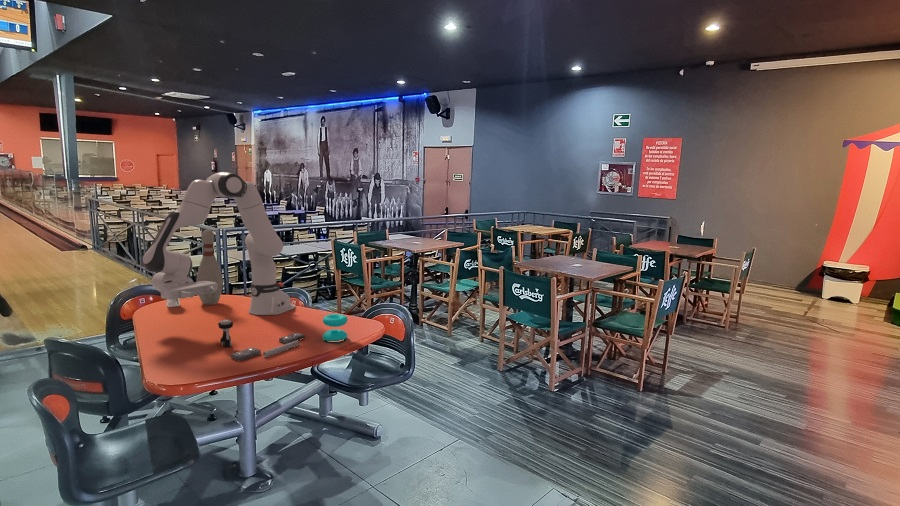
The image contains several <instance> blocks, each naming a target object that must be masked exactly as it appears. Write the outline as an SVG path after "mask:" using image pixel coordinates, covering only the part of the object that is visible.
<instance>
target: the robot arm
mask: <svg viewBox="0 0 900 506" xmlns="http://www.w3.org/2000/svg"><path fill="white" fill-rule="evenodd" d="M217 197H219V198H232V199H233V200H234V201H235V203H236V207H237V210H238V212H239V215H240V217H241V220H242V223H243V225H244V227H245V228H246V229H247V231H248V233H247V235H246V237H245V239H244V243H245V244H244V245H245V246H246V249H247V252H248V257H249V260H250V261H249V262H250V266H251V267H250V268H251V284H250V292H251V299H250V306H249V309H248V313H249V314H251V315H254V316H255V315H256V316H270V315H271V316H274V315H275V316H276V315H281V314H284V313H286V312H289V311H292V310H294V309H296V307H297V306H296V305H295V304H294V303H291V298H290V295H288V294H287V293H286V292H284V291H283V290H281V289H280V288H283V287H284V282H277V267H276V263H275V261H274V258H273V257H277V256H279V255H280V254H281V253H282V251H283V249H284V242H283V241H282V239H281V238H280V237H279V235H278V234H277V231H276V230H275V229H274V227H273V225H272V223H271V221H270V219H269V216H268V214H267V212H266V208H265V205H264V202H263V199H262V197H261V195H260V193H259V190H258V189H257V187H256V185H255V183H253V182H251V181H247V180H243V178H242V177H241V176H240V175H239V174H237V173H235V172H227V171H221V172H213V173H211V174H209V175H207V177H205V178H204V179H195V180H192V181H191V183H190V184H189V185H188V188H186V191H185V193H184V196H183V198H182V201H181V203H180V205H179V206H178V207H177V208H176V210H173V211H171V212H169V214H168V215H167V216H166V218H165V219H164V221H163V223H162V225H161V226H160V228H159V230H158V232H157V233H156V235H155V237H154V239H153V240H152V243H151V244H150V245H149V247H148V248H147V249H146V250H145V252H144V253H143V256H142V265H143V267H144V268H145V269H146V270H147V271H148V272H150V273H151V272H152V273H155V274H154V275H153V276H152V279H151V285H152V286H153V289H155V290H156V291H158V292H159V293H160V298H161V299H163V300H167V299H169V300H172V299H178V298H179V299H187V298H189V299H190V298H193V297H194V296H197V295H198V296H199V294H204V293H215V292H216V291H217V283H216V282H210V281H200V282H196V281H195V282H194V280H193V279H192V278H190V277H189V276H190V275H191V272H192V270H193V260H192V259H191V257H190V255H188V254H187V253H183V252H179V251H173V250H168V249H167V247H168V244H169V243H170V241H171V239H172V237H173V236H174V234H175V232H176V231H177V230H178V229H181V228H184V227H194V226H199V225H201V224H203V223H204V222H206V220H207V219H208V216H209V214H210V211H211V207H212V204H213V202H214V200H215V199H216V198H217Z"/></svg>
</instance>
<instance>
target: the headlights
mask: <svg viewBox="0 0 900 506" xmlns="http://www.w3.org/2000/svg"><path fill="white" fill-rule="evenodd" d="M302 338H305V339H306V334H303V333H300V332H294V333H290V334H287V335H285V336H282V337H279V338H278V339H279V340H278V341H279V343H282V345H279V346H276V347H274V348H272V349H271V348H270V349H268V350H265V351H263V353H262V350H261V349H259V348H255V347H253V346H252V347H251V346H250V347H248V348H245V349H242V350H239V351H237V352H233V353H231V354H230V359H231V358H233V359H232V360H234V359H236V360H235V361H237V360H239V361H238V362H242V361H241V360H243V361H245V360H244V359H246V360H248V359H250V357H251V358H253V357H252V356H254V357H257V356H259V354H260V355H261V354H263V358H264V357H267V358H269V357H272V356H275V355H277V353H278V354H280V353H283V352H285V350H286V351H288V350H287V349H289V350H291V349H293V348H292V347H294V346H297V345H299V346H300V341H301V340H300V339H302ZM297 340H300V341H297ZM284 343H285V344H284ZM297 347H298V346H297ZM290 348H291V349H290ZM294 348H295V347H294ZM282 351H283V352H282ZM274 354H275V355H274ZM256 355H257V356H256ZM271 355H272V356H271ZM268 356H269V357H268ZM247 358H248V359H247Z"/></svg>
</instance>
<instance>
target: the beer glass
mask: <svg viewBox="0 0 900 506" xmlns="http://www.w3.org/2000/svg"><path fill="white" fill-rule="evenodd" d="M165 306H166V307H167V306H168V307H167V308H176V307H180V306H181V302H180V298H178V299H172V300H169V299H166V305H165Z"/></svg>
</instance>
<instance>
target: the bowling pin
mask: <svg viewBox="0 0 900 506" xmlns="http://www.w3.org/2000/svg"><path fill="white" fill-rule="evenodd" d="M201 240H202V243H203V244H202V245H203V255H202V258H201V260H200V262H199V265H198V269H197V273H196V281H195V282H200V281H210V282H216V283H217V291H216V292H215V293H204V294H199V295H198V297H199V299H200V301H201V303H202V304H203V305H207V306H213V305H216V304H218V302H219V301H220V298H221V295H222V290H223V274H222V271H221V267H220V265H219V262H218V260H217V258H216V256H215V254H214V253H215V252H214V244H215V233H214V231H213V230H212V229H209V228H208V229H204V230H203V231H202V234H201Z"/></svg>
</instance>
